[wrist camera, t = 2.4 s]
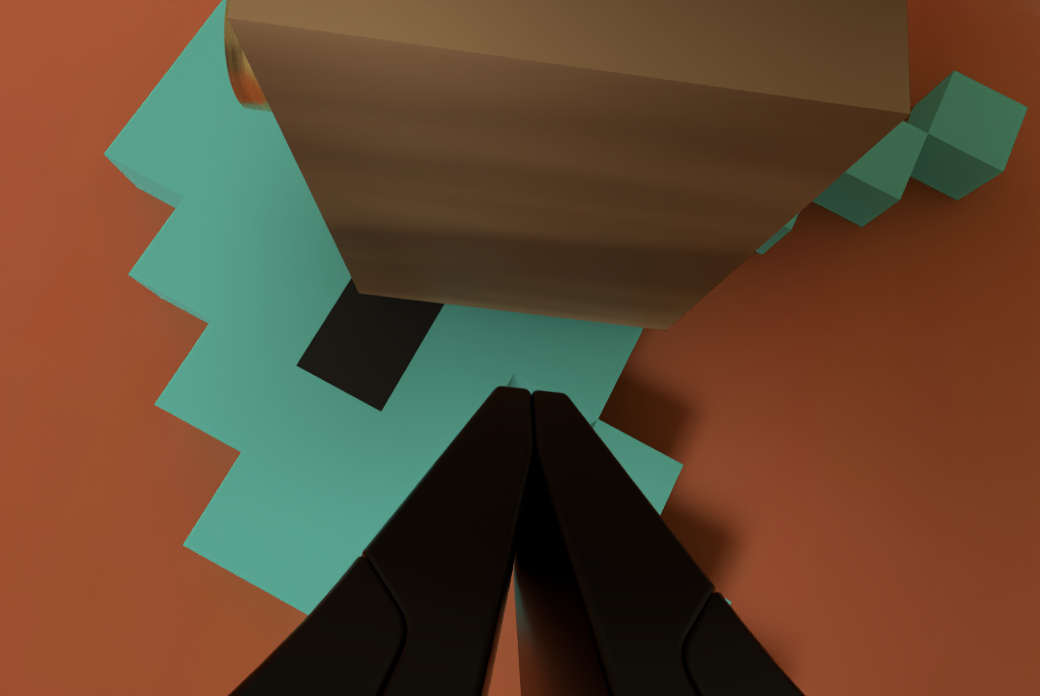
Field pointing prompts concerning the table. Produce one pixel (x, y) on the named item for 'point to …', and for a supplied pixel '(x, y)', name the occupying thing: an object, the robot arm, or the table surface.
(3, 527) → the table surface
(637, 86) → the marking gauge
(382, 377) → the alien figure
